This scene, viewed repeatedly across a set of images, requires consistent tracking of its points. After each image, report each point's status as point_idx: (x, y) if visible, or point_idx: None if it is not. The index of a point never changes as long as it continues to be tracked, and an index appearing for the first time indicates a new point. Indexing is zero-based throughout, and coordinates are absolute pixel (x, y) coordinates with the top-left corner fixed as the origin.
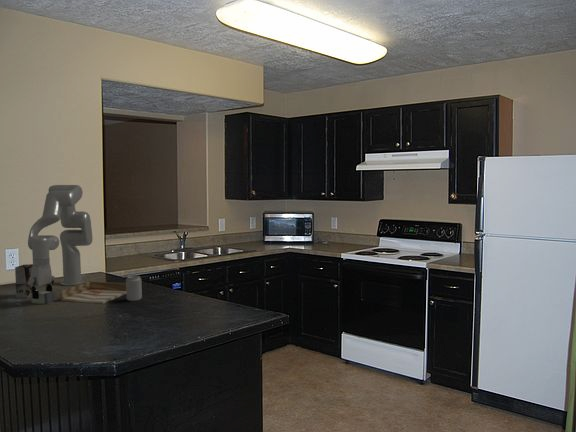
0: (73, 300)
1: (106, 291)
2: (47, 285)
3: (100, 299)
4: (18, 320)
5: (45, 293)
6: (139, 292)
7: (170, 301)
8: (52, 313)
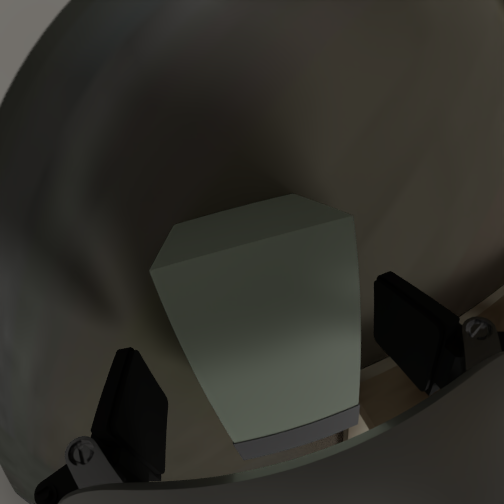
0: (345, 436)
1: None
2: (455, 360)
3: None
4: (16, 443)
5: (247, 446)
6: None
7: None
8: None
